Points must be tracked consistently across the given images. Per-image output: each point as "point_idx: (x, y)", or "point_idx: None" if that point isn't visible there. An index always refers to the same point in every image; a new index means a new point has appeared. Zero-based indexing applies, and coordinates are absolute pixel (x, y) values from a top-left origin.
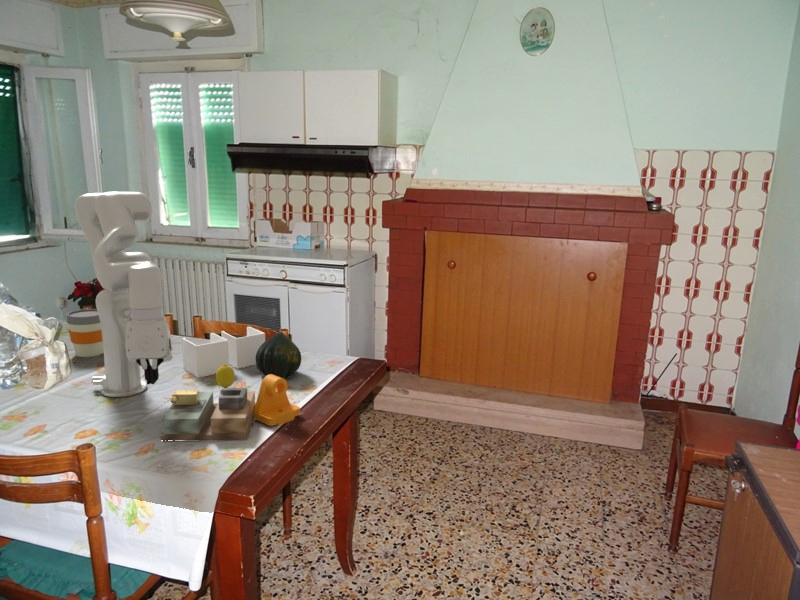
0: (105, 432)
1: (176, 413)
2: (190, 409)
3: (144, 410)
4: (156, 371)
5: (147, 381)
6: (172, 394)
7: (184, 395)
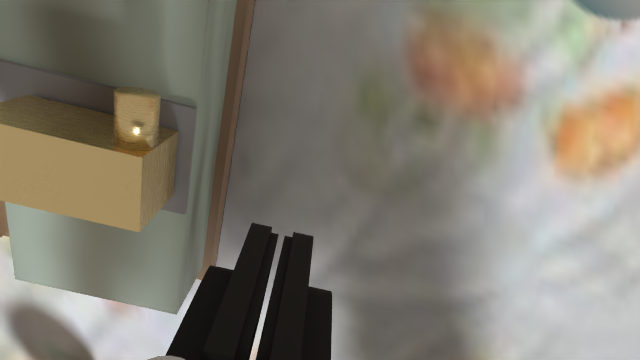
0: (521, 124)
1: (141, 11)
2: (66, 58)
3: (357, 290)
4: (174, 339)
5: (305, 248)
6: (141, 158)
7: (57, 133)
